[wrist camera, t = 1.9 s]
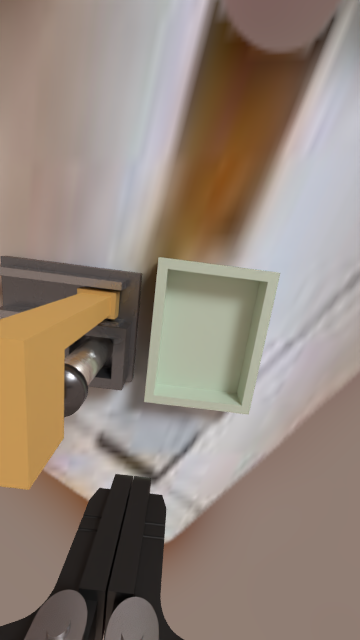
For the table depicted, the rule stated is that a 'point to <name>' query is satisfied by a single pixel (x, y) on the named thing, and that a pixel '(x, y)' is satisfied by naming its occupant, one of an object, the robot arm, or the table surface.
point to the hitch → (62, 281)
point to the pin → (83, 370)
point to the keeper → (40, 378)
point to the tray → (208, 334)
